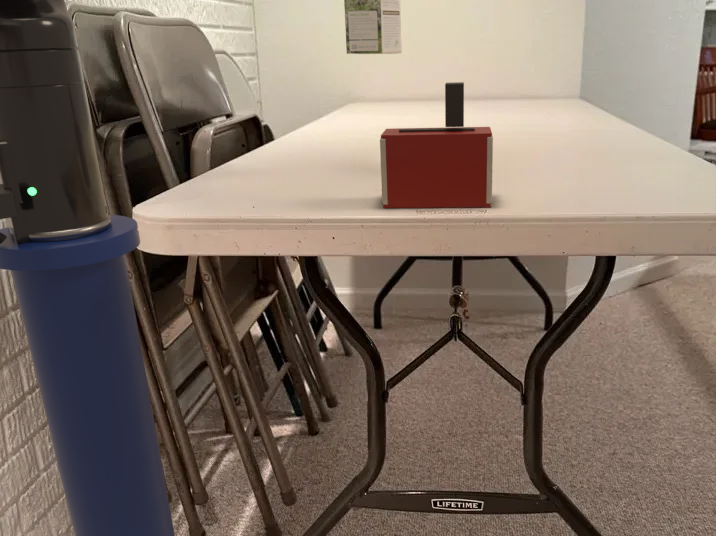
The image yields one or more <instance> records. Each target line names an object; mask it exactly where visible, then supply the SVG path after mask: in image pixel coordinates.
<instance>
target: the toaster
mask: <svg viewBox="0 0 716 536" xmlns="http://www.w3.org/2000/svg"><path fill="white" fill-rule="evenodd" d="M379 151H380V152H379V153H380V155H379V156H380V178H381V179H380V181H381V182H380V183H381V204H382V205H383V207H382V208H383V209H417V208H418V209H428V208H429V209H433V208H491V207H492V204H493V161H494V159H493V158H494V157H493V153H494V152H493V151H494V136H493V132H492V129H491V126H464V127H404V128H403V127H400V128H399V127H397V128H385V129H384V130H383V132H382V133H381V134H380V139H379Z"/></svg>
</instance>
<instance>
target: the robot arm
mask: <svg viewBox="0 0 716 536" xmlns="http://www.w3.org/2000/svg"><path fill="white" fill-rule="evenodd" d="M78 48H79V44H78V39H77V32H76V27H75V23H74V21H73V18H72V17H71V15H70V12H69V9H68V7H67V5H66V1H65V0H0V220H4V219H5V223H6V227H7V228H8V232H9V234H10V235H11V238H12V239H14V240H15V242H16V243H17V244H24V243H32V242H56V241H64V240H71V239H78V238H82V237H87V236H91V235H95V234H98V233H101V232H103V231H105V230H107V229H109V228H110V227H111V226H112V223H111V217H110V215H111V214H110V212H109V210H110V209H109V205H108V202H107V196H106V191H105V186H104V179H103V175H102V169H101V164H100V159H99V154H98V153H99V152H98V148H97V143H96V137H95V132H94V126H93V121H92V116H91V110H90V106H89V105H90V104H89V100H88V93H87V89H86V88H87V87H86V83H85V77H84V72H83V66H82V61H81V54H80V49H78ZM6 238H7V236H5V235H4V234H2V233H1V232H0V244H1V243H2V242H3V241H4V240H5V239H6Z"/></svg>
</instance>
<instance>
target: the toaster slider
mask: <svg viewBox="0 0 716 536" xmlns="http://www.w3.org/2000/svg"><path fill="white" fill-rule="evenodd" d="M444 107H445V109H444V110H445V113H444V115H445V116H444V118H445V119H444V120H445V125H444V128H449V127H465V82H464V81H461V82H460V81H459V82H457V81H456V82H445V84H444Z"/></svg>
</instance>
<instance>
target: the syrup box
mask: <svg viewBox="0 0 716 536" xmlns="http://www.w3.org/2000/svg"><path fill="white" fill-rule="evenodd" d="M343 6H344V7H343V8H344V26H345V27H344V28H345V47H346V55H347V54H348V55H397V54H402V51H403V49H402V46H403V45H402V25H401V22H402V21H401V0H343Z"/></svg>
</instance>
